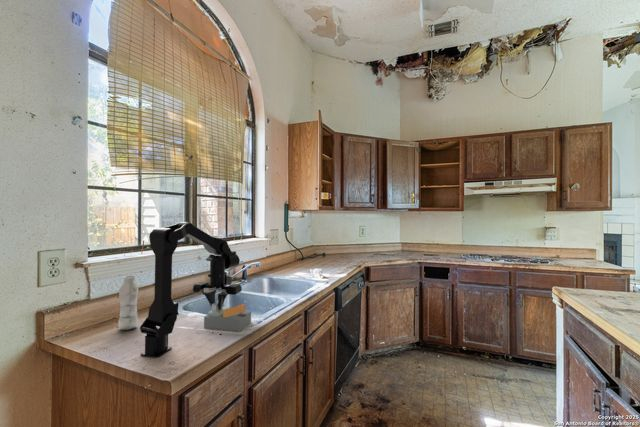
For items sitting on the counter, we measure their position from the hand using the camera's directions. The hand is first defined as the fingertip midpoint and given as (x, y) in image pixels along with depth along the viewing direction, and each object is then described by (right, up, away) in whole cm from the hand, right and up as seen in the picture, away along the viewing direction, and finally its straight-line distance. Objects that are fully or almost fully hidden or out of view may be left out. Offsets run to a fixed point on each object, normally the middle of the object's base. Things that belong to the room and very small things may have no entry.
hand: (216, 309), depth 119 cm
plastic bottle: (-32, -6, -6) cm, 33 cm away
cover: (+1, -1, 0) cm, 2 cm away
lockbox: (+5, -6, -1) cm, 8 cm away
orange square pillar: (+9, -1, -5) cm, 10 cm away
